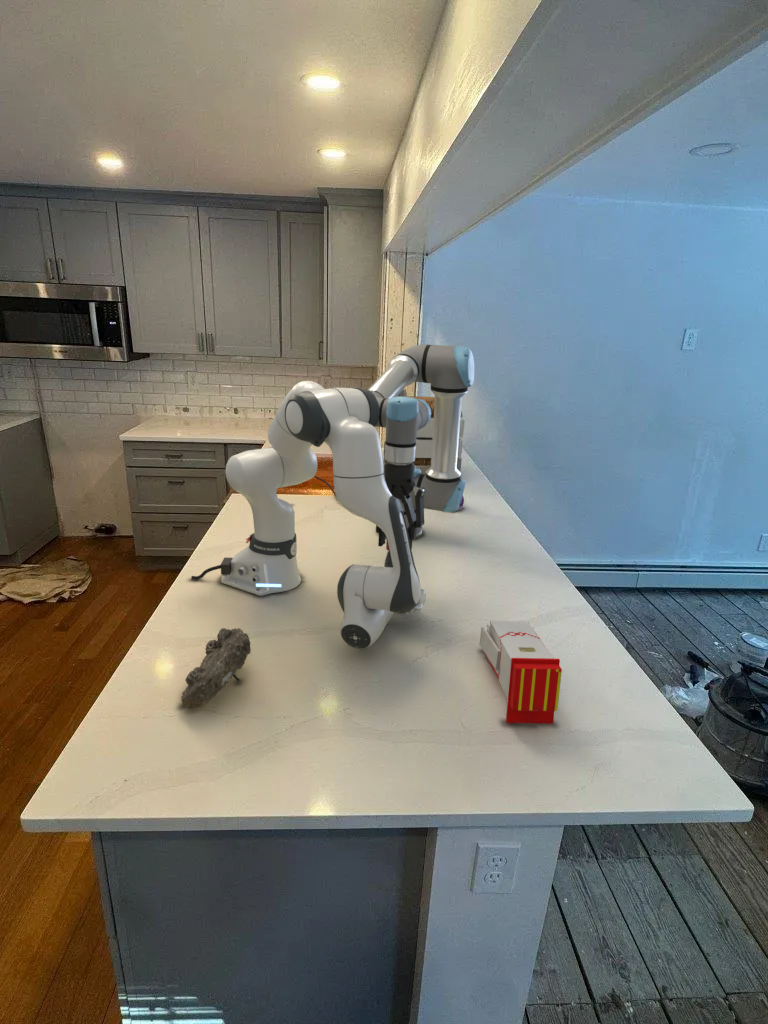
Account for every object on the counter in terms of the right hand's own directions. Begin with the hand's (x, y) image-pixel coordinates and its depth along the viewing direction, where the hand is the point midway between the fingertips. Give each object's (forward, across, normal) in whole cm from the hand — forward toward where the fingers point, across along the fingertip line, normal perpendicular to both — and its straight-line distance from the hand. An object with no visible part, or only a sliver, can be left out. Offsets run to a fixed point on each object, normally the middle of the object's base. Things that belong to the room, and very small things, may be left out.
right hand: (395, 547), depth 147 cm
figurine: (+17, +10, -84) cm, 86 cm away
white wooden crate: (+17, +41, -124) cm, 132 cm away
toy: (+17, -37, +18) cm, 44 cm away
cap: (-2, 0, 0) cm, 2 cm away
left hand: (+10, 0, -1) cm, 10 cm away
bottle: (+17, 0, 0) cm, 17 cm away
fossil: (+17, +18, +47) cm, 53 cm away
